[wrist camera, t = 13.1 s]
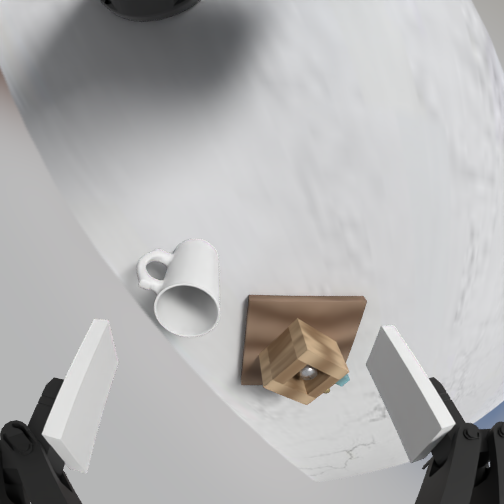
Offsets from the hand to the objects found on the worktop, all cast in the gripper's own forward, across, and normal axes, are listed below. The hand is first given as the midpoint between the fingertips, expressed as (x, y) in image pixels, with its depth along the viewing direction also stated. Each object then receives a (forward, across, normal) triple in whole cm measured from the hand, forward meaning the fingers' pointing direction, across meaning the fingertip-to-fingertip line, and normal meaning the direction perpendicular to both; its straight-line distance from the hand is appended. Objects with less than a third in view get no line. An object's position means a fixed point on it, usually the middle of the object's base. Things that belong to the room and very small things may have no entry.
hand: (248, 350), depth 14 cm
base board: (+27, +12, -23) cm, 37 cm away
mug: (+27, -6, -8) cm, 29 cm away
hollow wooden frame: (+25, +14, -25) cm, 38 cm away
